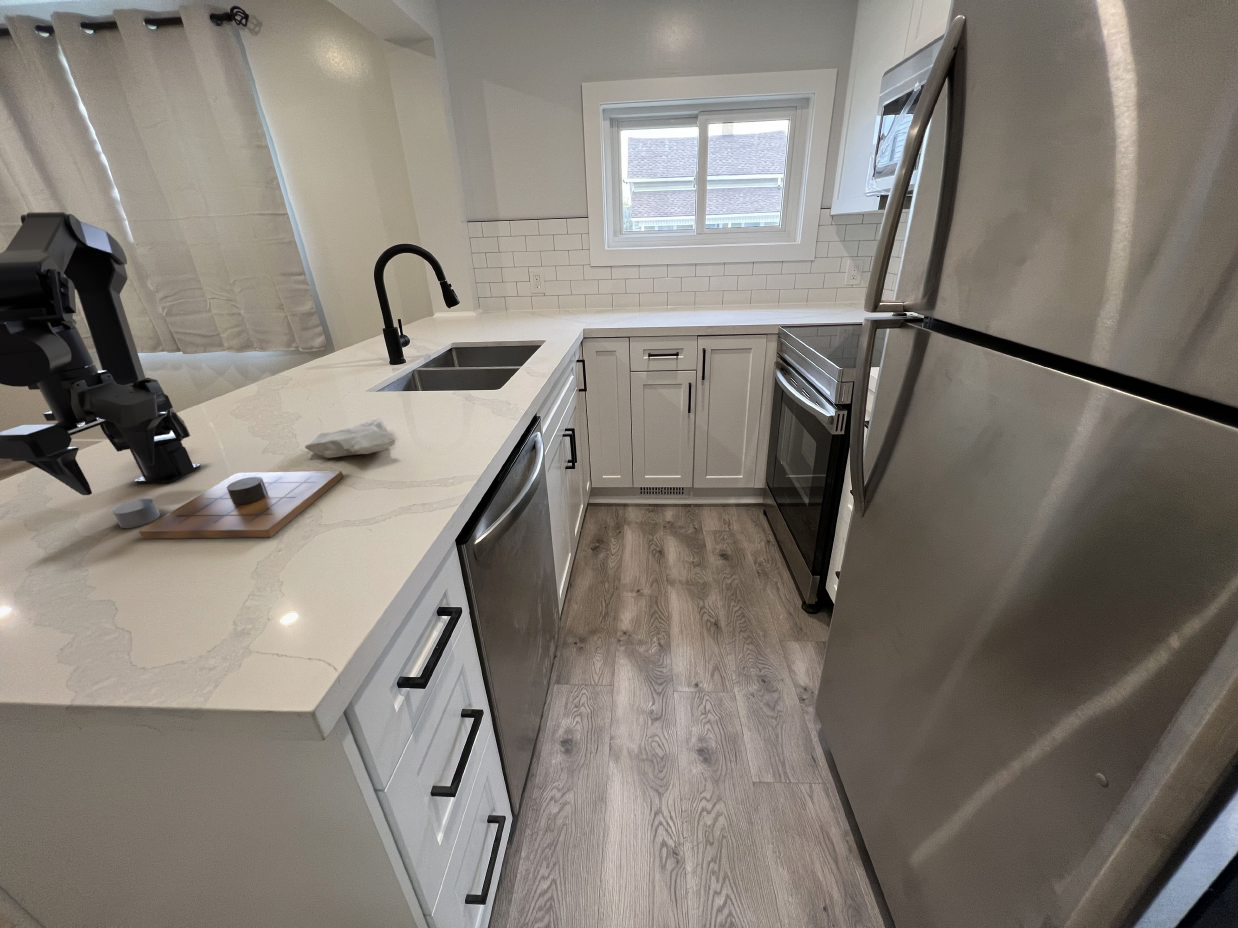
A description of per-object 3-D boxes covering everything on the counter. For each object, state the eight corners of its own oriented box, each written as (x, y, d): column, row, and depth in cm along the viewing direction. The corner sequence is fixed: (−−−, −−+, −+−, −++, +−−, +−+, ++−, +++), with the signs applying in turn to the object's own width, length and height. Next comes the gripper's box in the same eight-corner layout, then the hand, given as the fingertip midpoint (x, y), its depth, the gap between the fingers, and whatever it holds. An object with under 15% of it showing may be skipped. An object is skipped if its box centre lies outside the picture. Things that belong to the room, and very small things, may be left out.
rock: (304, 484, 81) (400, 457, 86) (293, 458, 79) (391, 432, 84) (319, 448, 99) (397, 428, 104) (310, 426, 98) (389, 407, 102)
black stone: (225, 504, 72) (219, 490, 71) (246, 490, 76) (241, 476, 75) (254, 504, 72) (248, 489, 71) (274, 490, 76) (269, 476, 75)
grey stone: (111, 528, 70) (103, 513, 69) (139, 512, 74) (132, 498, 73) (141, 528, 70) (133, 513, 69) (168, 512, 74) (161, 497, 73)
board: (142, 538, 67) (138, 531, 66) (239, 479, 83) (236, 472, 83) (271, 537, 66) (267, 529, 66) (343, 477, 82) (341, 470, 82)
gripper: (44, 387, 54) (111, 512, 60) (185, 350, 71) (226, 450, 77) (-53, 390, 54) (24, 513, 61) (111, 352, 71) (157, 452, 78)
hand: (120, 478), depth 69 cm, fingers open, 9 cm apart
